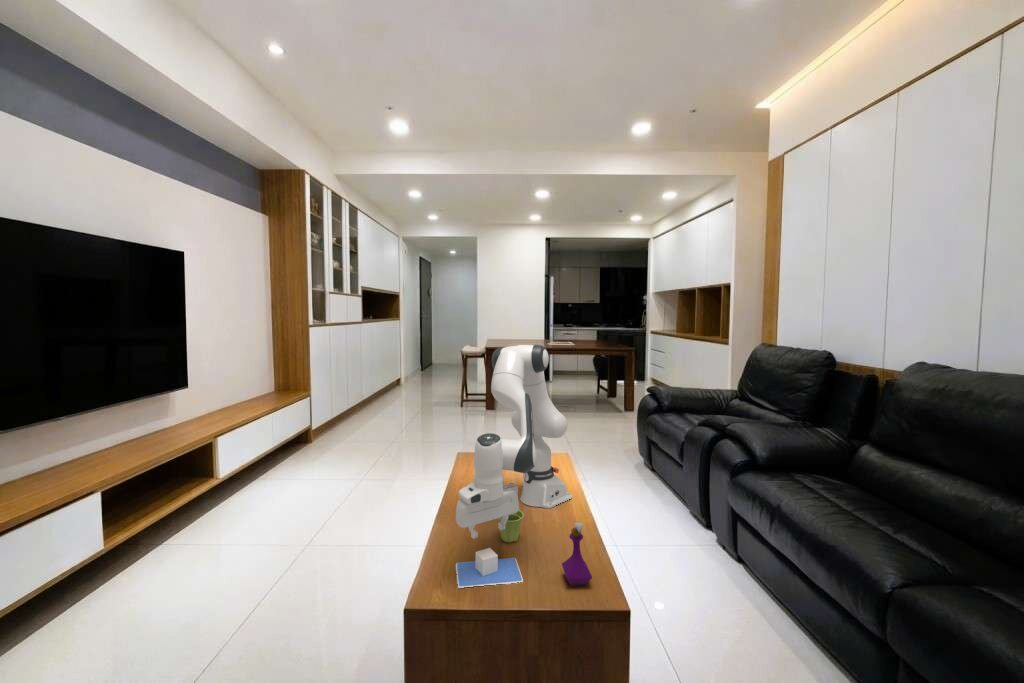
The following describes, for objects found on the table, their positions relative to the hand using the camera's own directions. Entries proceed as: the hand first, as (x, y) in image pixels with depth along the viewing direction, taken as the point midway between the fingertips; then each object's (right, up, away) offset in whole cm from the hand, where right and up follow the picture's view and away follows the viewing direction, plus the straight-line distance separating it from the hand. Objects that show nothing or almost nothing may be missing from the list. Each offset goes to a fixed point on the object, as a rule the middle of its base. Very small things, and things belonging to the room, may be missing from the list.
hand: (488, 533), depth 130 cm
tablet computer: (0, -13, 0) cm, 13 cm away
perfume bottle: (+26, -13, -4) cm, 29 cm away
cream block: (-1, -11, 0) cm, 11 cm away
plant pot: (+6, -11, +20) cm, 24 cm away
